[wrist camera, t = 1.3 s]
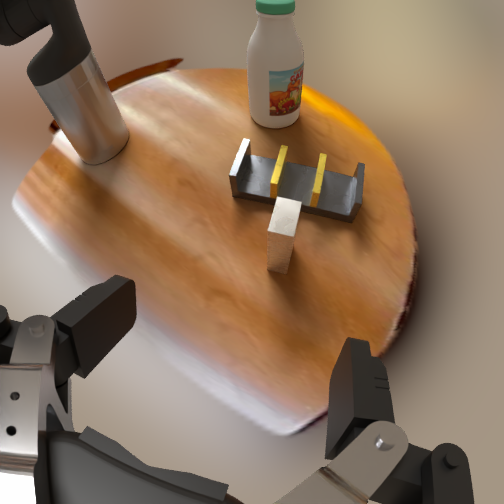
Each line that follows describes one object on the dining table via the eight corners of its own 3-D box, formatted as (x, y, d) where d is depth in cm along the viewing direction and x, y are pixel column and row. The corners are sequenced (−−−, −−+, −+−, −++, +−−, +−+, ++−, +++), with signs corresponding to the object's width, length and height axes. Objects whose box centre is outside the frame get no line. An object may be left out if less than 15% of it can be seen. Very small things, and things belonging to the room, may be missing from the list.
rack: (245, 161, 40) (243, 138, 36) (356, 185, 38) (364, 163, 34) (232, 196, 38) (228, 174, 34) (351, 223, 36) (361, 203, 32)
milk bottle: (249, 130, 42) (240, 8, 24) (250, 99, 46) (243, -9, 27) (301, 130, 42) (313, 9, 24) (296, 99, 45) (304, -9, 27)
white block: (274, 242, 35) (277, 196, 26) (293, 246, 35) (301, 202, 26) (267, 269, 34) (267, 230, 25) (286, 274, 34) (293, 236, 25)
